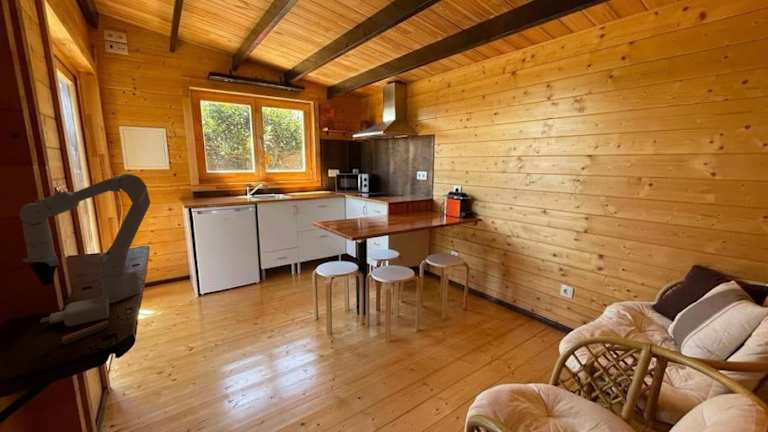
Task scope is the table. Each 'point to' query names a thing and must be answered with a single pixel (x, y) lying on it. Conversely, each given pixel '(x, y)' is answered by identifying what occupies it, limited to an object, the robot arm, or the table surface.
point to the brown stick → (85, 332)
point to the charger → (82, 312)
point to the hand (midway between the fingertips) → (47, 284)
